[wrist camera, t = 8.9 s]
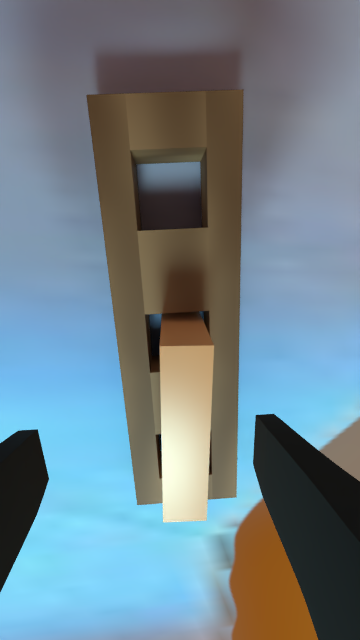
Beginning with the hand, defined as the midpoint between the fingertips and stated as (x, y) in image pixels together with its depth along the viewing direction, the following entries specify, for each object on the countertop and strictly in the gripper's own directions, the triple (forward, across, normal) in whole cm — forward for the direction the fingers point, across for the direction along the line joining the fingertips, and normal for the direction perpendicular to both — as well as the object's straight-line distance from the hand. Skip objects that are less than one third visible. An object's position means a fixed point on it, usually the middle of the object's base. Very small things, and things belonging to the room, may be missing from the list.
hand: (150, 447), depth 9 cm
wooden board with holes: (+10, -1, -1) cm, 10 cm away
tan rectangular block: (+10, -1, +3) cm, 10 cm away
